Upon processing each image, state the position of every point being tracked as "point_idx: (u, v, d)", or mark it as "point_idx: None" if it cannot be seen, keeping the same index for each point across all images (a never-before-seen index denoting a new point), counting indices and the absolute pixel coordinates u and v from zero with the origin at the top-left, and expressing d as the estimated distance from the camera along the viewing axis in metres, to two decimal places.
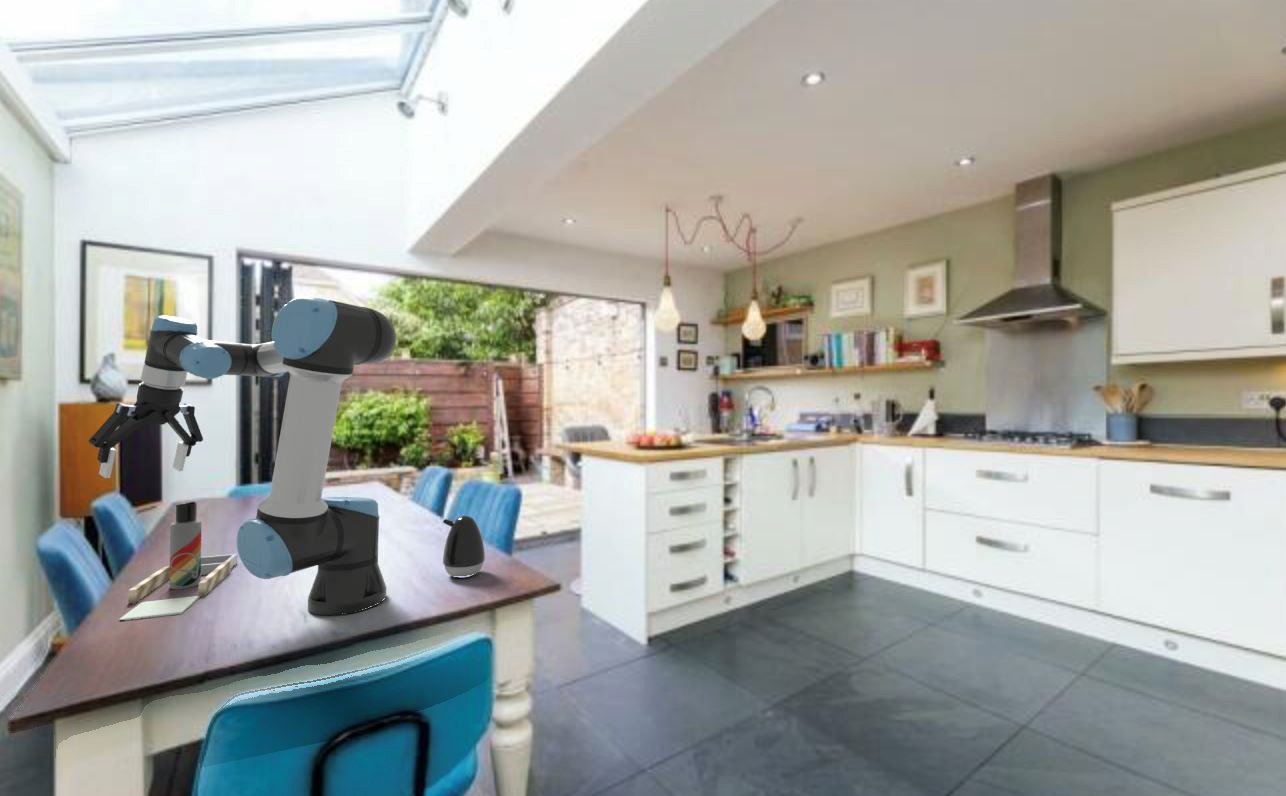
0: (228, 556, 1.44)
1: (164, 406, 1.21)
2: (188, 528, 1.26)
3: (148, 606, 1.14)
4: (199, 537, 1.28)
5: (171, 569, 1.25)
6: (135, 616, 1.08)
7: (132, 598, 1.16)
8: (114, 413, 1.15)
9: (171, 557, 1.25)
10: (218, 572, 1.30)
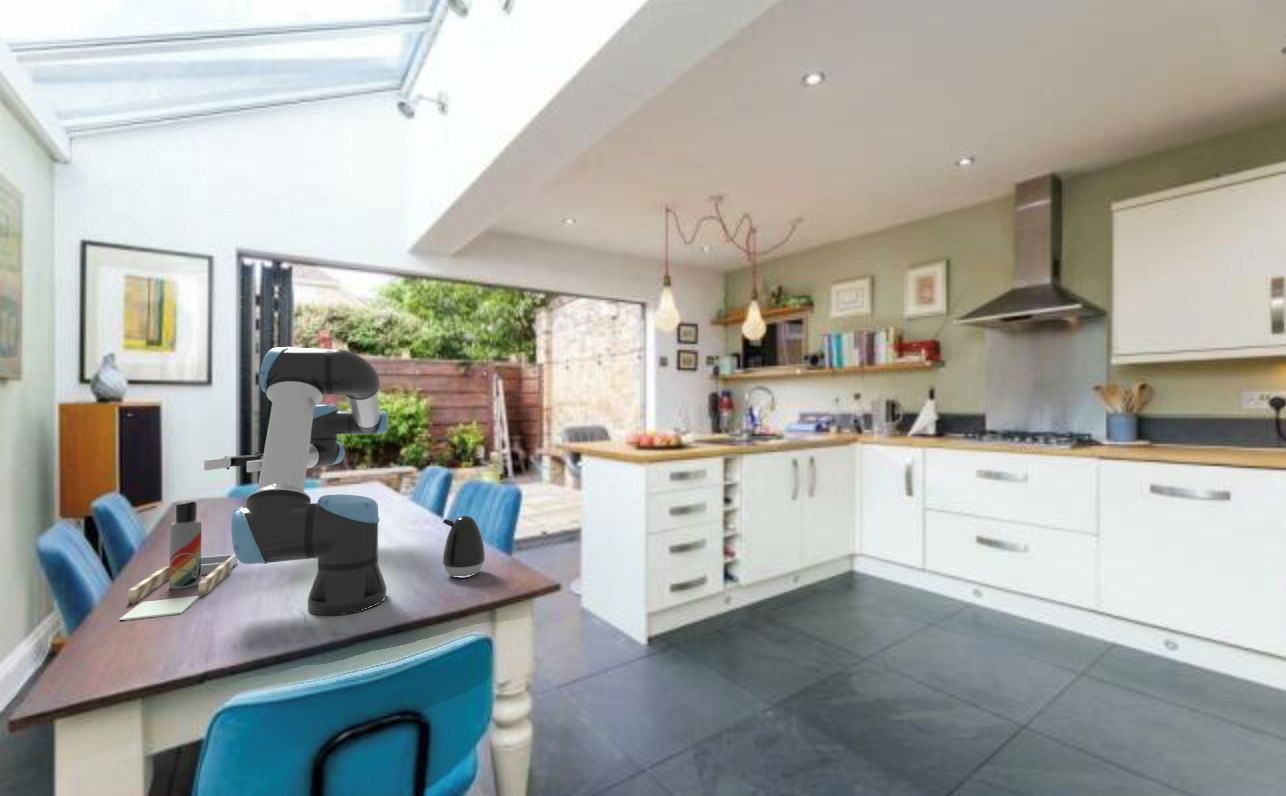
0: (228, 556, 1.44)
1: None
2: (188, 528, 1.26)
3: (148, 606, 1.14)
4: (199, 537, 1.28)
5: (171, 569, 1.25)
6: (135, 616, 1.08)
7: (132, 598, 1.16)
8: None
9: (171, 557, 1.25)
10: (218, 572, 1.30)
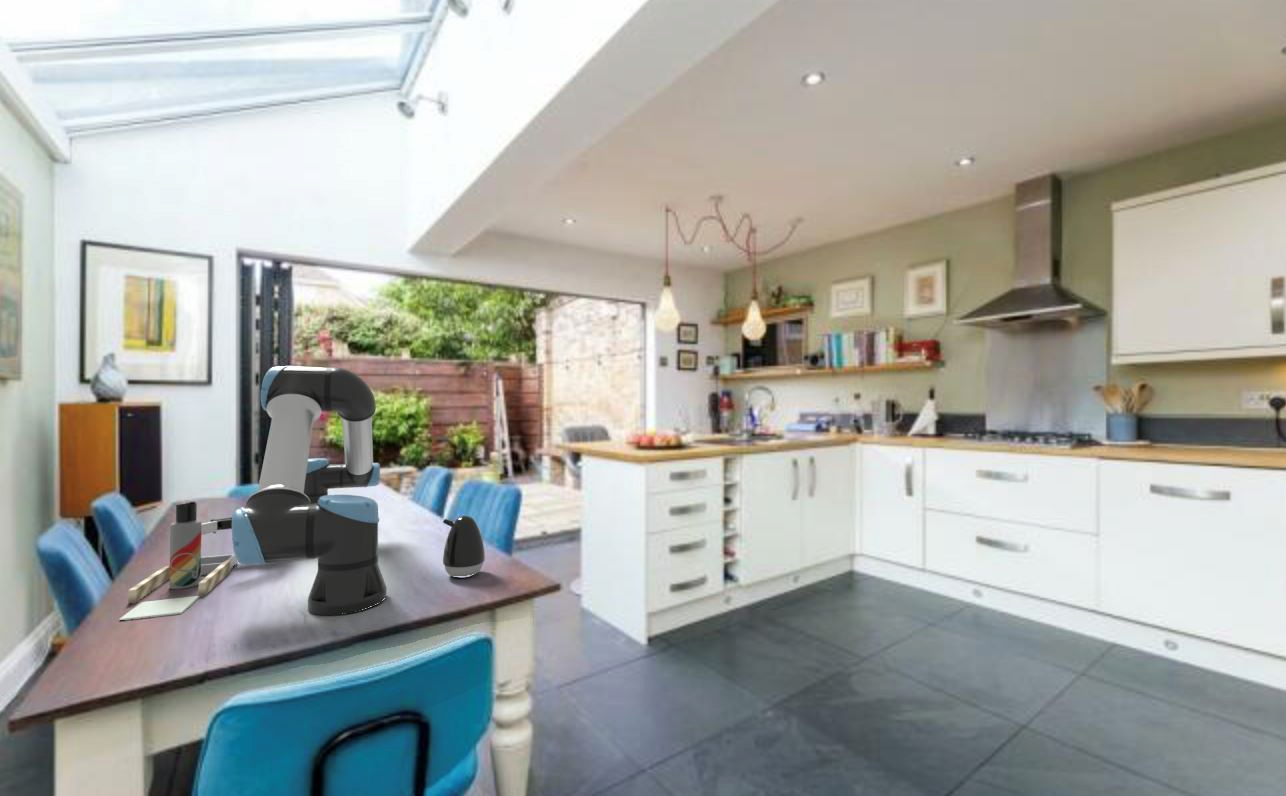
0: (228, 556, 1.44)
1: None
2: (188, 528, 1.26)
3: (148, 606, 1.14)
4: (199, 537, 1.28)
5: (171, 569, 1.25)
6: (135, 616, 1.08)
7: (132, 598, 1.16)
8: None
9: (171, 557, 1.25)
10: (218, 572, 1.30)
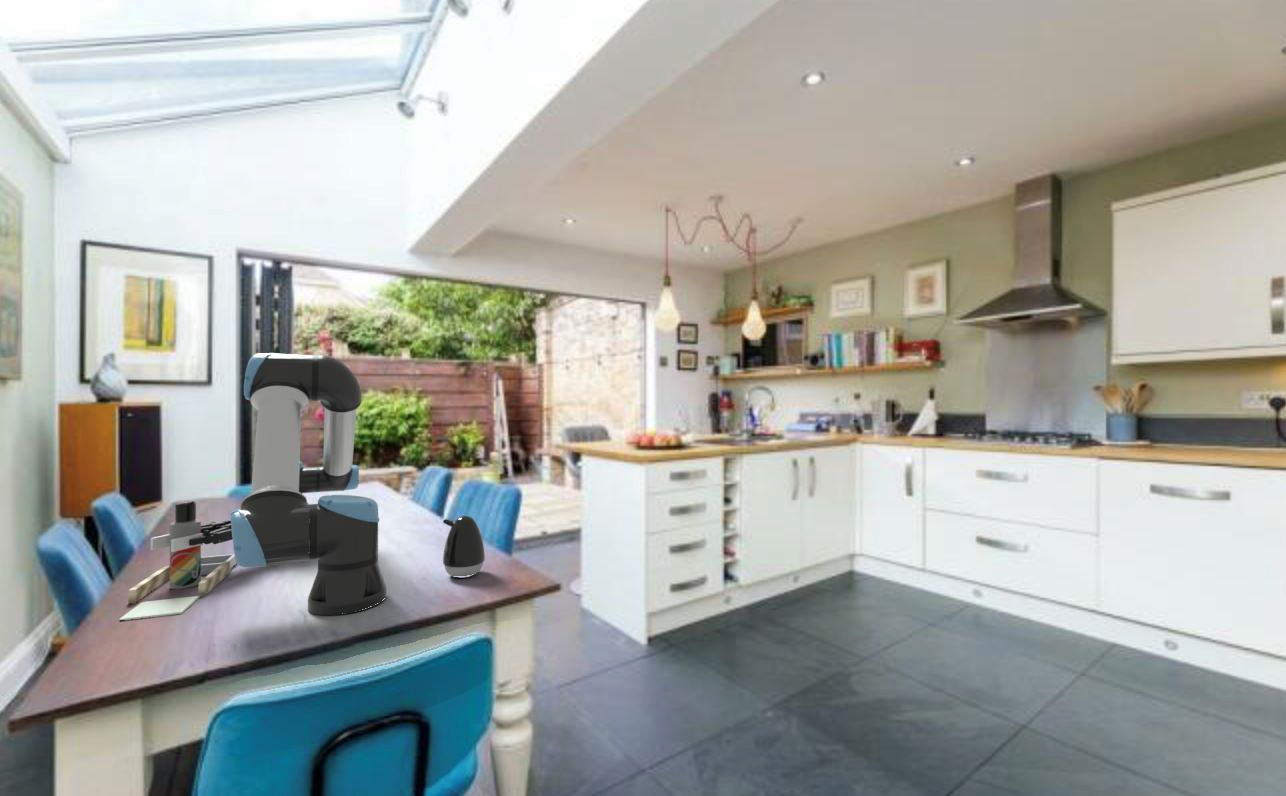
0: (228, 556, 1.44)
1: None
2: (188, 528, 1.26)
3: (148, 606, 1.14)
4: None
5: (171, 569, 1.25)
6: (135, 616, 1.08)
7: (132, 598, 1.16)
8: None
9: (171, 557, 1.25)
10: (218, 572, 1.30)
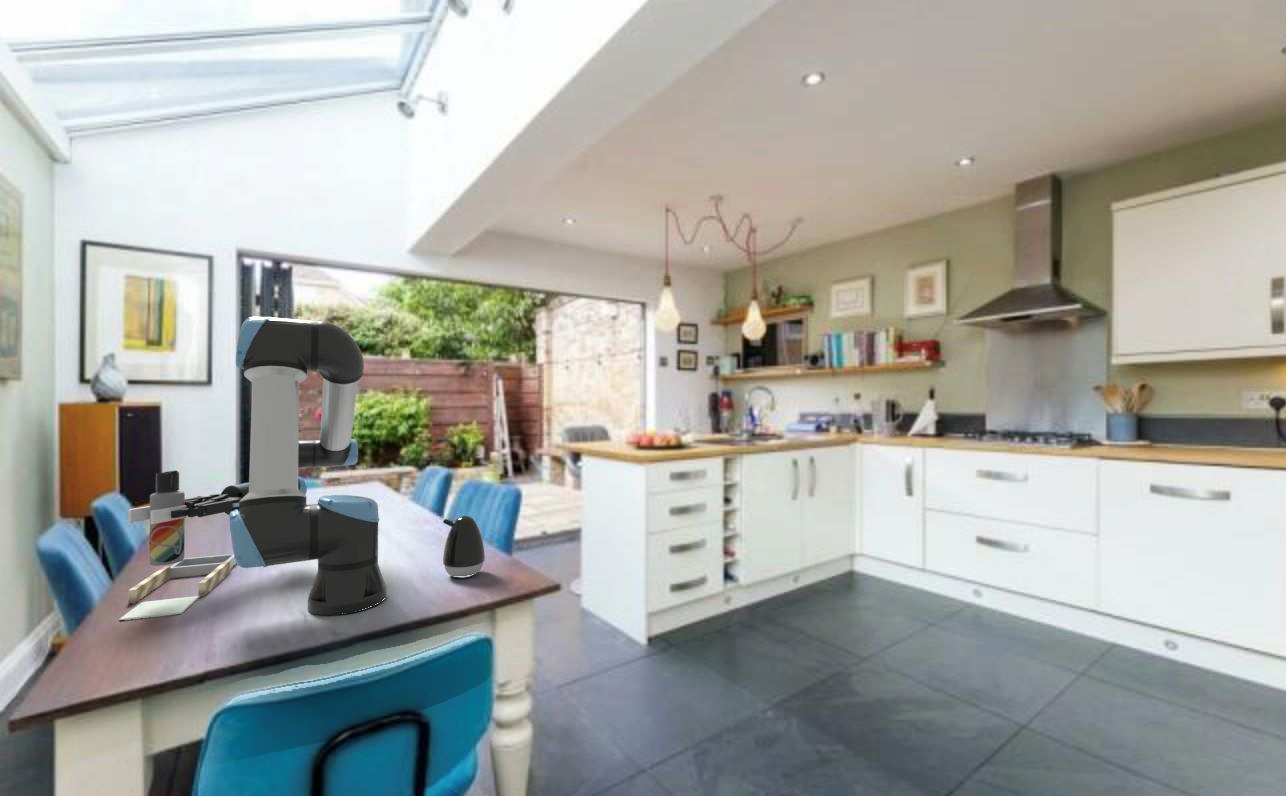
0: (228, 556, 1.44)
1: (229, 497, 1.29)
2: (170, 499, 1.15)
3: (148, 606, 1.14)
4: None
5: (151, 544, 1.14)
6: (135, 616, 1.08)
7: (132, 598, 1.16)
8: None
9: (151, 531, 1.14)
10: (218, 572, 1.30)
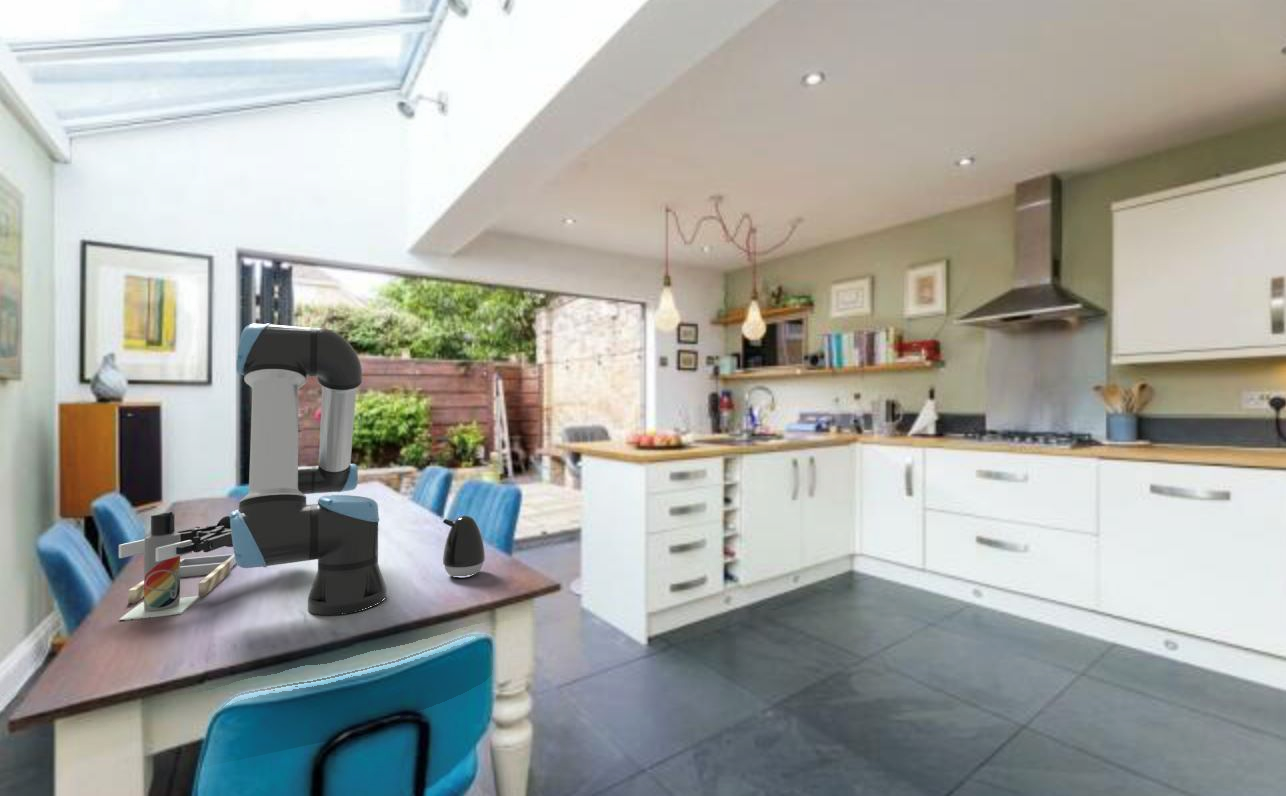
0: (228, 556, 1.44)
1: (225, 528, 1.26)
2: (165, 542, 1.12)
3: None
4: None
5: (146, 588, 1.11)
6: (135, 616, 1.08)
7: (132, 598, 1.16)
8: None
9: (146, 575, 1.11)
10: (218, 572, 1.30)
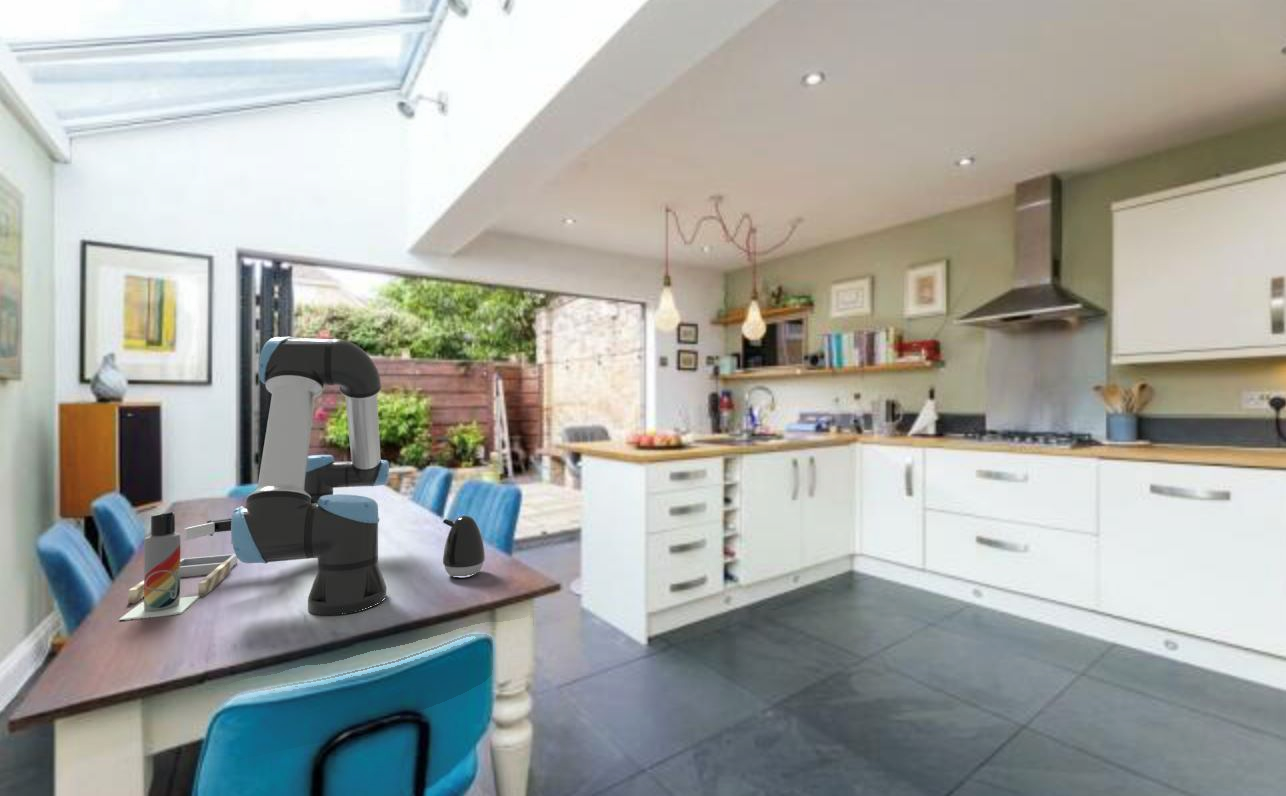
0: (228, 556, 1.44)
1: None
2: (166, 542, 1.12)
3: None
4: (178, 552, 1.14)
5: (146, 589, 1.11)
6: (135, 616, 1.08)
7: (132, 598, 1.16)
8: None
9: (146, 575, 1.11)
10: (218, 572, 1.30)
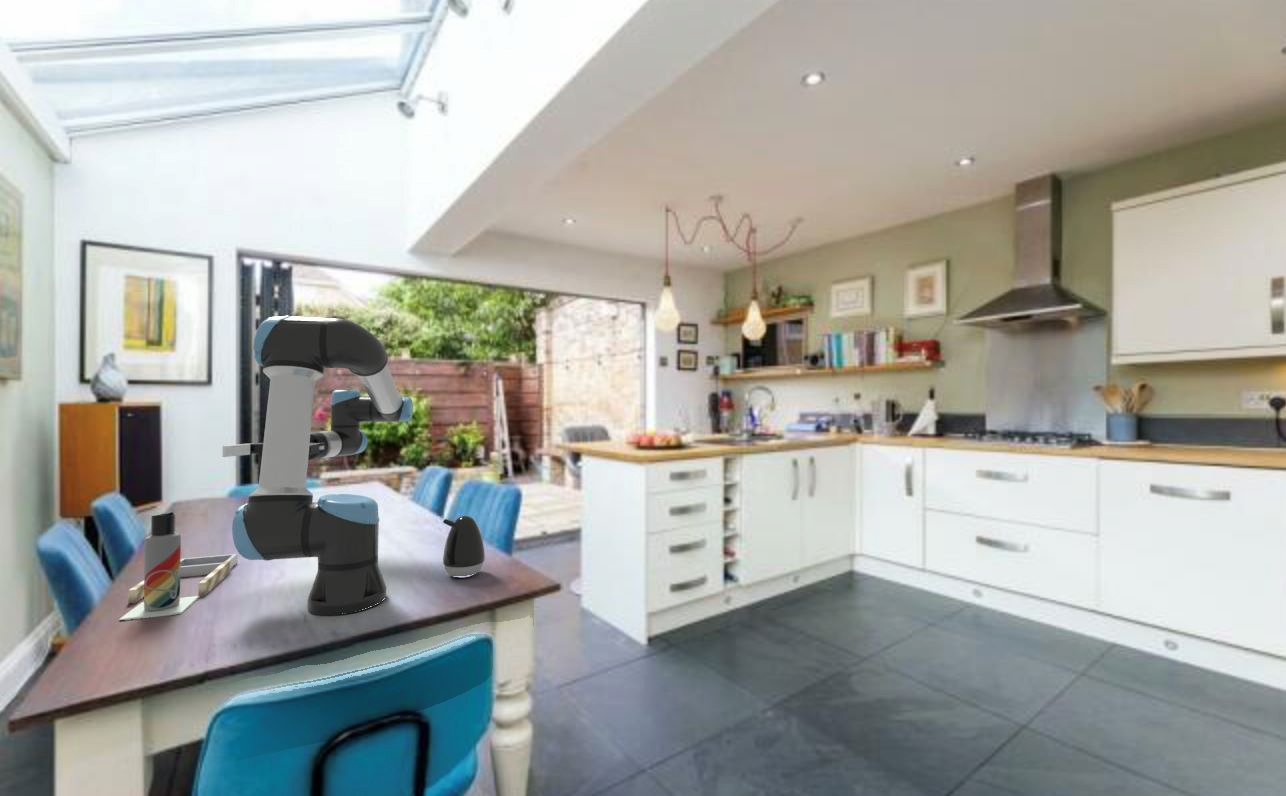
0: (228, 556, 1.44)
1: None
2: (166, 542, 1.12)
3: None
4: (178, 551, 1.14)
5: (146, 589, 1.11)
6: (135, 616, 1.08)
7: (132, 598, 1.16)
8: None
9: (146, 575, 1.11)
10: (218, 572, 1.30)
